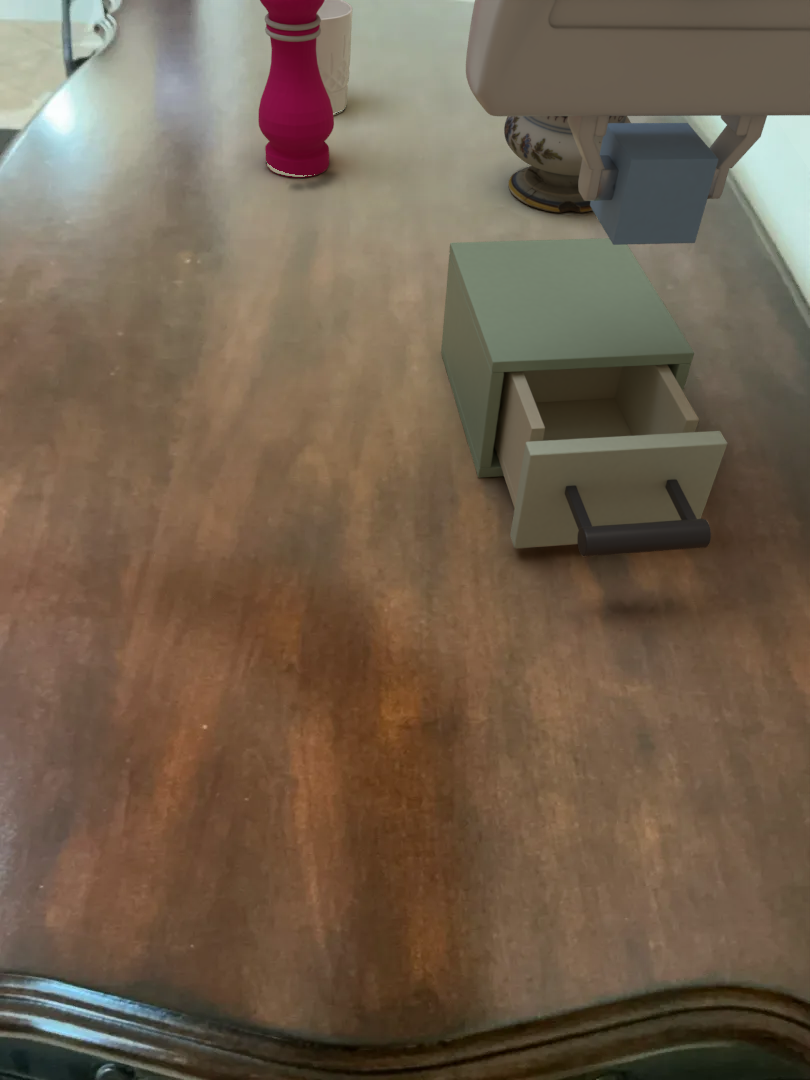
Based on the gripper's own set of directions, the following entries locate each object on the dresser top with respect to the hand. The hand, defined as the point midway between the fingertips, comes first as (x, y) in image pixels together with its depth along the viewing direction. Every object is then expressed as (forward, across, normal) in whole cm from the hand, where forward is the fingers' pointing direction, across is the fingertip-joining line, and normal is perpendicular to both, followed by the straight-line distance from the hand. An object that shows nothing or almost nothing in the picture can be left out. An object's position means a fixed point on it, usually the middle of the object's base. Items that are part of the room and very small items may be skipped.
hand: (647, 195), depth 51 cm
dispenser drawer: (+18, +1, +3) cm, 19 cm away
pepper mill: (+20, +16, -49) cm, 55 cm away
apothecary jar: (+19, -9, -42) cm, 47 cm away
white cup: (+20, +13, -64) cm, 68 cm away
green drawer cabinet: (+19, +1, -8) cm, 21 cm away
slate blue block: (+2, 0, 0) cm, 2 cm away
